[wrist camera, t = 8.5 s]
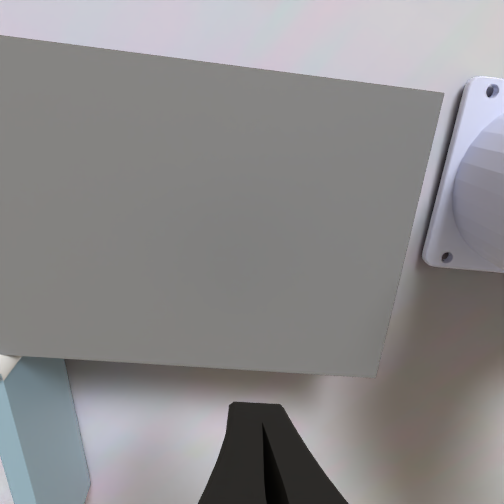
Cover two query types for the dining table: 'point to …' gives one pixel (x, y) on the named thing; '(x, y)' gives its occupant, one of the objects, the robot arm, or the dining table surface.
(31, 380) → the side door
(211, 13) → the dining table surface
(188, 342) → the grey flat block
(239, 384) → the dining table surface
